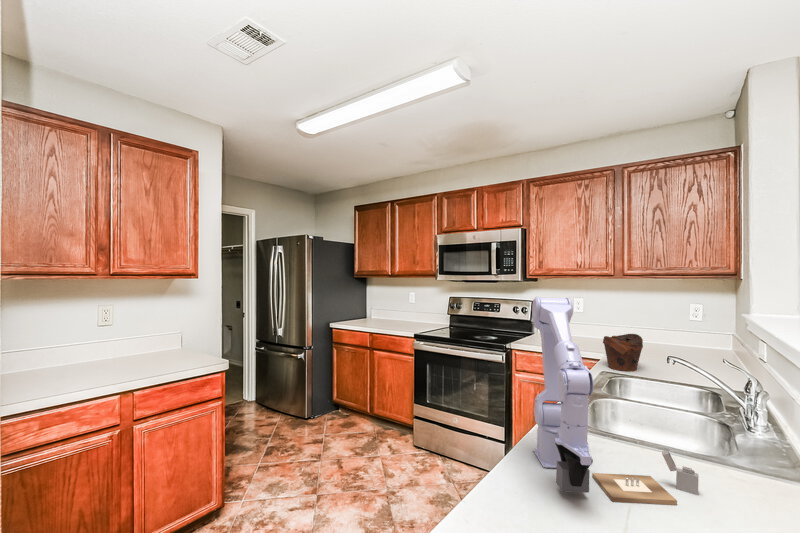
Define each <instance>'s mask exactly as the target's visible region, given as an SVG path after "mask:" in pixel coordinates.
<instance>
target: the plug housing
mask: <svg viewBox="0 0 800 533" xmlns="http://www.w3.org/2000/svg"><path fill="white" fill-rule="evenodd" d="M555 471H556V476H555V477H556V478H555V479H556V480H555V481H556V484H557V486H558V487H559V489H560V491H561V492H567V493H568V492H570V493H589V494H590V472H591V471H590V469H589V468H588V470H587V471H586V474H585V476H584V480H583V483H582V486H581V487H577V486H572V485H571V483H570V477H569V468H568V464H567V462H566V461H557V468H556V469H555Z"/></svg>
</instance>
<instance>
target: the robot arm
mask: <svg viewBox="0 0 800 533" xmlns="http://www.w3.org/2000/svg"><path fill="white" fill-rule="evenodd" d="M531 312H532V314H531V315H532V324H533V327H534V328H535V329H537V330H539V334H540V340H541V353H542V354H541V355H542V356H541V357H542V369H543V383H544V384H543V386H544V389H543V390H542V391H541V392H540V393H537V395H536V396H535V398H534V408H533V411H534V412H533V413H534V420H535V423H536V425H537V430H536V431H537V432H536V435H537V436H536V448H533V452H534V454H535V456H536V458H537V459H538V461H539V462H540V464H541V466H542V467H543V468H545V469H546V468H547V469H557V461H566V462H567V464H568V468H569V477H570V483H571V485H572V486H577V487H581V486H582V483H583V480H584V476H585V474H586V471H587V470H588V469H589V468H590V466H592V465H593V462H594V460H593V458H592V455H591V453H590V449H589V448H590V447H589V442H588V431H589V430H588V429H589V428H588V426H589V396H592V395H593V391H594V378H593V374H592V371H591V370H590V369H589V368H588V366H587V365H584V361H583V358H582V354H581V350H580V348H579V345H578V344H576V343H575V342H573V340H572V335H571V333H572V332H571V327H570V323H571V320H572V317H573V315H574V305H573V301H572V300H571V299H570V297H540V296H536V297H534V298H533V300H532V306H531Z"/></svg>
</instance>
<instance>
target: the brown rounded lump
mask: <svg viewBox="0 0 800 533" xmlns="http://www.w3.org/2000/svg"><path fill="white" fill-rule="evenodd" d="M643 343H644V340H643V337H642V336H641V335H639V334H638V333H624V334H619V335H611V336H608V335H605V336H603V339H602V344H603V345H604V350H605V356H606V361H607V366H608V368H609V369H611V370H615V371H621V372H636V371H637V368H638V366H639V361H640V357H641V352H642V350H643V347H644V345H643Z"/></svg>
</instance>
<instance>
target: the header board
mask: <svg viewBox="0 0 800 533" xmlns="http://www.w3.org/2000/svg"><path fill="white" fill-rule="evenodd" d="M591 474H592V476H591V477H592V479H593V480H594V481H595V482H596V484H597V485H598V486H599V487H600V489H601V490H602V491H603V492H604V494H605V495H606V496H607V497H608V499H609V500H610V501H611V502H613V503H614V502H615V503H631V504H632V503H633V504H646V505H647V504H648V505H649V504H650V505H651V504H652V505H670V506H672V505H673V506H677V505H678V499H676V497H674V496H673V495H672V494H671V493H669V492H668V491H667V490H666V488H664V487H663V486H662V485H661V484H660V483H659V482H657V480H655V478H653V477H652V476H651V475H641V474H622V473H621V474H620V473H619V474H617V473H599V472H592V473H591Z"/></svg>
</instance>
